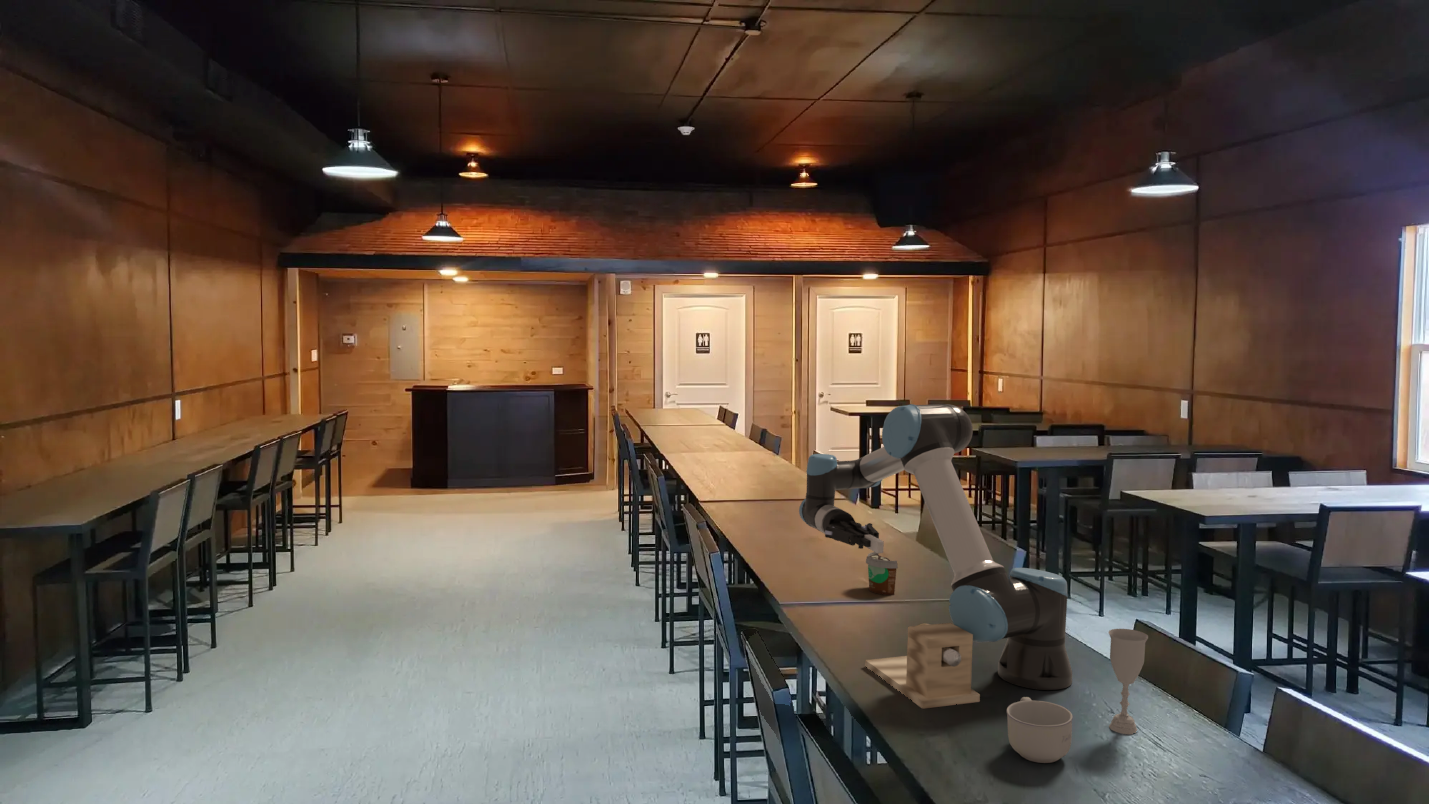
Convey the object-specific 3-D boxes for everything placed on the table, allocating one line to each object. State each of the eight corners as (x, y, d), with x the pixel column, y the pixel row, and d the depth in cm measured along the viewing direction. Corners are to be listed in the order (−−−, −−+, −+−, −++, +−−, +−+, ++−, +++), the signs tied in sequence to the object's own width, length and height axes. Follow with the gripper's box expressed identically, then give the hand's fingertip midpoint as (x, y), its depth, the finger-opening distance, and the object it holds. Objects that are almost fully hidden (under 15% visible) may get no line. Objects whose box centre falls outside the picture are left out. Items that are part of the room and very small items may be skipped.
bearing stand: (865, 666, 205) (867, 606, 204) (917, 661, 209) (919, 602, 208) (922, 708, 182) (924, 641, 181) (979, 701, 186) (982, 635, 185)
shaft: (907, 657, 194) (908, 624, 193) (936, 654, 196) (937, 622, 195) (938, 678, 182) (939, 643, 182) (969, 674, 185) (970, 640, 184)
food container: (857, 586, 272) (858, 552, 271) (876, 584, 274) (877, 551, 273) (877, 597, 260) (878, 562, 259) (896, 596, 262) (897, 561, 261)
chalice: (1110, 717, 180) (1115, 626, 178) (1148, 727, 175) (1153, 633, 174) (1098, 729, 174) (1103, 635, 173) (1137, 740, 170) (1142, 643, 168)
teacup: (1075, 773, 156) (1077, 726, 156) (1008, 765, 159) (1010, 720, 158) (1062, 738, 170) (1064, 695, 169) (1000, 732, 172) (1002, 689, 172)
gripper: (858, 535, 237) (905, 561, 215) (811, 539, 233) (854, 565, 211) (859, 506, 236) (906, 529, 214) (811, 510, 232) (855, 533, 210)
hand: (880, 547), depth 212 cm, fingers closed
